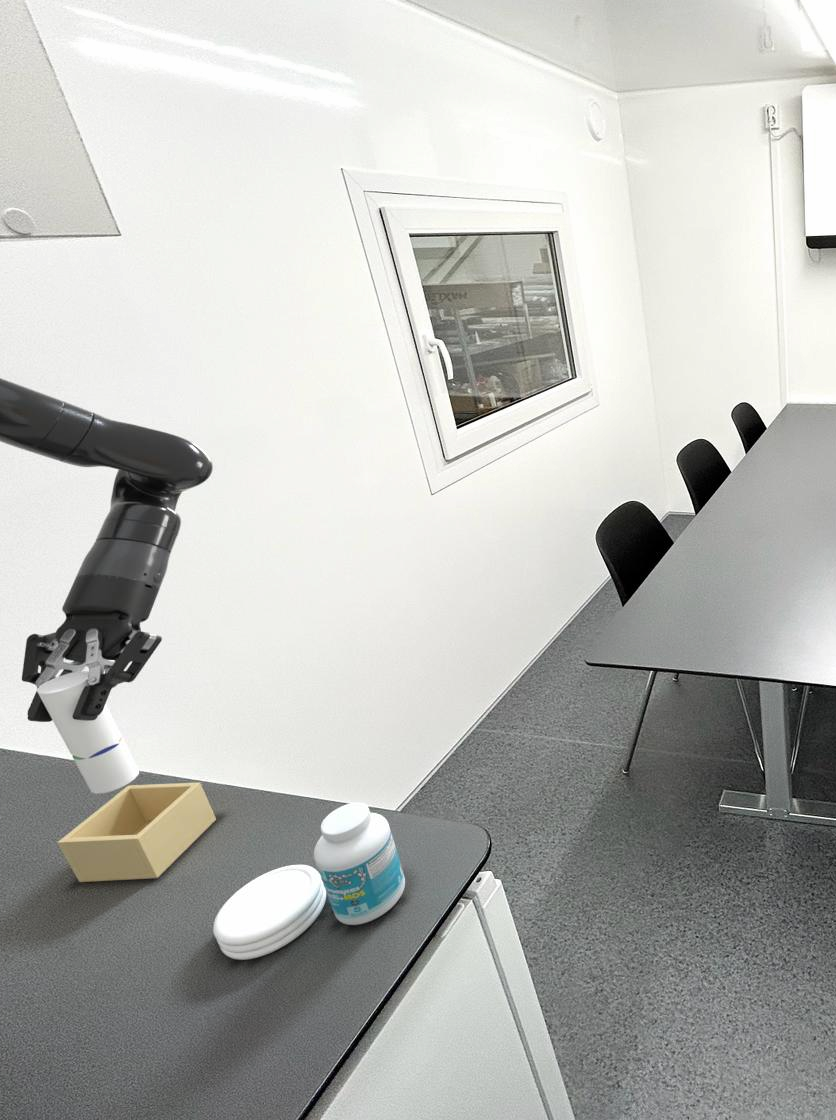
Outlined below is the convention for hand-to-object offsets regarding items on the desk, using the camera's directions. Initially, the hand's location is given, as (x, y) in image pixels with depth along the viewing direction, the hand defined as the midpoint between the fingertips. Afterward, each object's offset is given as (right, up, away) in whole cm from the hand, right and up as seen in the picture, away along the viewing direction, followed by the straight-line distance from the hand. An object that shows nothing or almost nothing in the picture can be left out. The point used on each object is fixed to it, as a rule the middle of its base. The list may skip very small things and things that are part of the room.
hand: (62, 719), depth 73 cm
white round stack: (+23, -25, +2) cm, 34 cm away
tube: (0, -10, +6) cm, 11 cm away
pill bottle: (+33, -24, +5) cm, 41 cm away
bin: (-1, -21, +11) cm, 24 cm away
